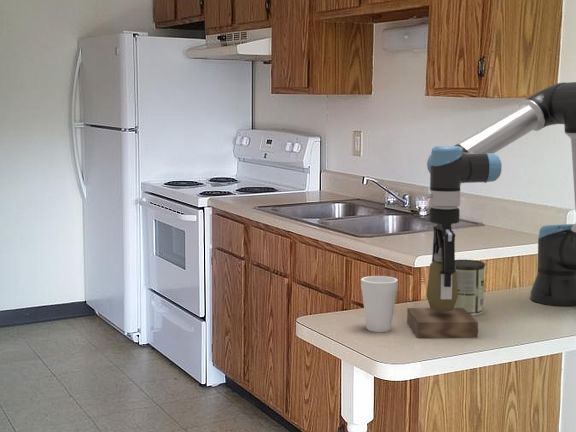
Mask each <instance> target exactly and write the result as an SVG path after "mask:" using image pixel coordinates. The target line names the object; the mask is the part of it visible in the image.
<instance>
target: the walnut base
mask: <svg viewBox="0 0 576 432" xmlns="http://www.w3.org/2000/svg"><path fill="white" fill-rule="evenodd" d="M406 312H407V314H406V319H407V320H406V323H407V325H408V326H409V327H410V329H411V330H412V331H413V333H414V335H415V337H417V339H468V338H469V339H474V338H475V339H477V338H478V337H479V336H478V335H479V321H478V320H476V318H474V317H473V316H471V315H470V314H469V313H468V312H467V311H466V310H465V309H464V308H454V309H453V310H451V311H435V310H432V309H431V308H430V307H407V311H406Z"/></svg>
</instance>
